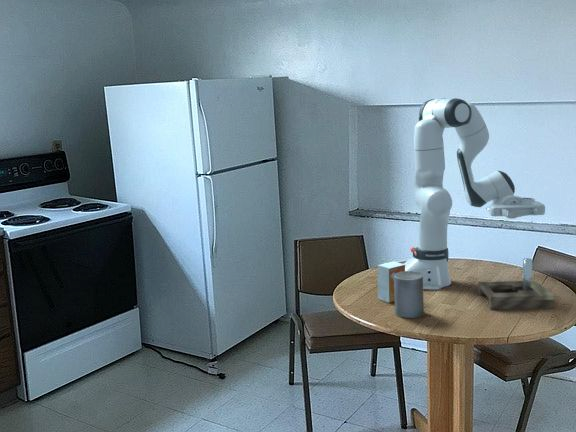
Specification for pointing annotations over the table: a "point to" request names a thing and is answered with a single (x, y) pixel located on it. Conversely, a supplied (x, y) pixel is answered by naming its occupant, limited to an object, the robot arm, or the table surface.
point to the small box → (388, 280)
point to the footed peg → (527, 274)
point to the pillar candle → (408, 294)
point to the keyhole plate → (516, 295)
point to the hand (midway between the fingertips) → (522, 213)
